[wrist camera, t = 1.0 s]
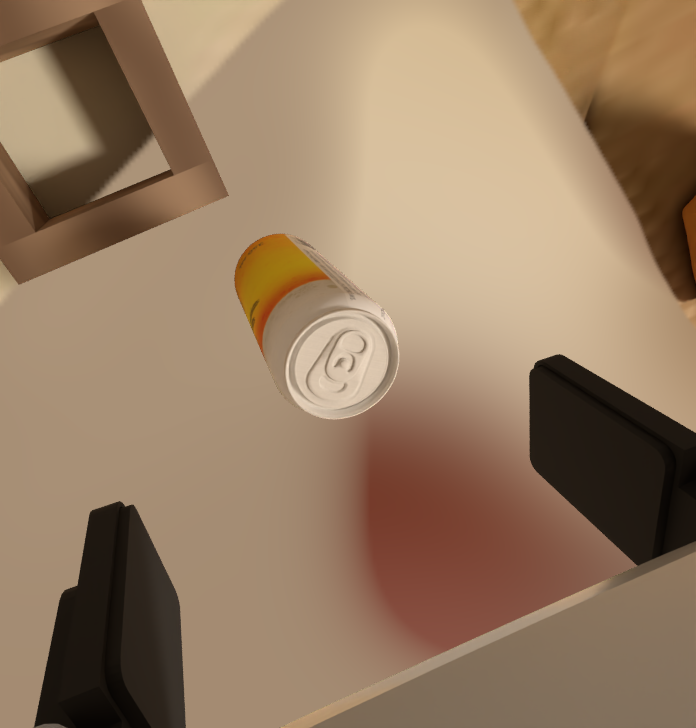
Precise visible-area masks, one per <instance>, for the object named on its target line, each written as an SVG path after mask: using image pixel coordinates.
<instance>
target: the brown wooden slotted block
mask: <svg viewBox="0 0 696 728" xmlns="http://www.w3.org/2000/svg"><path fill="white" fill-rule="evenodd" d="M99 25H100V26H101V28H102V30H103V32H104V34H105V36H106V38H107V40H108V42H109V44H110V46H111V48H112V50H113V52H114V54H115V56H116V59H117V61H118V63H119V65H120V67H121V69H122V71H123V73H124V75H125V77H126V79H127V81H128V83H129V85H130V87H131V89H132V91H133V93H134V95H135V97H136V99H137V101H138V103H139V105H140V107H141V109H142V111H143V113H144V115H145V117H146V119H147V121H148V123H149V125H150V127H151V129H152V131H153V134H154V136H155V138H156V140H157V141H158V144H159V145H160V148H161V150H162V152H163V154H164V155H165V158H166V160H167V162H168V164H169V165H170V168H171V169H170V170H168V171H165V172H163V173H161V174H158V175H156V176H153V177H151V178H149V179H146V180H144V181H141V182H139V183H136V184H134V185H132V186H129V187H127V188H124V189H122V190H120V191H117V192H115V193H112V194H110V195H107V196H105V197H102V198H100V199H98V200H95V201H93V202H90V203H88V204H85V205H83V206H81V207H78V208H76V209H73V210H71V211H68V212H66V213H64V214H61V215H59V216H56V217H54V218H51V219H49V217H48V216H47V214H46V213H45V211H44V210H43V208H42V206H41V205H40V203H39V202H38V200H37V199H36V197H35V196H34V194H33V192H32V191H31V189H30V188H29V186H28V185H27V183H26V181H25V180H24V178H23V177H22V175H21V174H20V172H19V171H18V169H17V167H16V166H15V164H14V163H13V161H12V160H11V158H10V157H9V155H8V153H7V152H6V150H5V149H4V147H3V146H2V144H1V142H0V259H1V261H2V262H3V264H4V265H5V266H6V268H7V269H8V270H9V272H10V273H11V275H12V276H13V277H14V279H15V280H16V282H17V283H18V284H22V283H24V282H26V281H29V280H31V279H33V278H36V277H38V276H41V275H43V274H45V273H47V272H50V271H52V270H55V269H57V268H59V267H61V266H64V265H66V264H69V263H71V262H73V261H76V260H78V259H80V258H83V257H85V256H87V255H90V254H92V253H95V252H97V251H99V250H102V249H104V248H107V247H109V246H111V245H114V244H116V243H118V242H121V241H123V240H125V239H128V238H130V237H132V236H135V235H137V234H140V233H142V232H144V231H147V230H149V229H151V228H154V227H156V226H158V225H161V224H163V223H165V222H168V221H170V220H172V219H175V218H177V217H180V216H182V215H184V214H187V213H189V212H191V211H194V210H196V209H199V208H201V207H203V206H205V205H208V204H210V203H212V202H215V201H217V200H220V199H222V198H224V197H226V196H229V195H228V193H227V191H226V188H225V186H224V184H223V181H222V180H221V177H220V175H219V173H218V170H217V168H216V166H215V164H214V162H213V159H212V157H211V155H210V153H209V150H208V148H207V146H206V144H205V141H204V139H203V137H202V135H201V132H200V130H199V128H198V126H197V124H196V121H195V120H194V117H193V115H192V113H191V110H190V108H189V106H188V104H187V101H186V99H185V97H184V95H183V92H182V90H181V88H180V86H179V84H178V81H177V79H176V77H175V75H174V72H173V70H172V68H171V66H170V63H169V61H168V59H167V57H166V55H165V52H164V50H163V48H162V46H161V43H160V41H159V39H158V37H157V35H156V32H155V30H154V28H153V26H152V23H151V21H150V19H149V17H148V14H147V12H146V10H145V8H144V6H143V3H142V1H141V0H0V62H2V61H5V60H7V59H10V58H13V57H15V56H18V55H21V54H24V53H26V52H29V51H32V50H34V49H37V48H40V47H42V46H45V45H48V44H50V43H53V42H56V41H59V40H61V39H64V38H67V37H69V36H72V35H75V34H77V33H80V32H83V31H85V30H88V29H91V28H94V27H96V26H99Z"/></svg>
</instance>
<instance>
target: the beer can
mask: <svg viewBox="0 0 696 728" xmlns="http://www.w3.org/2000/svg"><path fill="white" fill-rule="evenodd" d="M235 288H236V292H237V295H238V298H239V300H240V302H241V304H242V307H243V309H244V311H245V314H246V316H247V319H248V321H249V323H250V326H251V328H252V330H253V333H254V335H255V337H256V340H257V342H258V344H259V347H260V349H261V352H262V354H263V356H264V358H265V361H266V363H267V366H268V368H269V370H270V373H271V375H272V377H273V380H274V382H275V384H276V386H277V388H278V390H279V391H280V392H281V394H282V395H283V396H284V398H285V399H286V400H287V401H289V402H290V403H291V404H292V405H294V406H296V407H297V408H299V409H301V410H303V411H306V412H308V413H310V414H312V415H314V416H317V417H320V418H325V419H343V418H348V417H352V416H355V415H357V414H360V413H362V412H364V411H366V410H368V409H369V408H371V407H372V406H374V405H375V404H376V403H377V402H378V401H379V400H380V399H381V398H382V397H383V396H384V395H385V394H386V393H387V391H388V390H389V388H390V387H391V385H392V383H393V381H394V379H395V377H396V374H397V370H398V365H399V349H398V339H397V334H396V330H395V327H394V325H393V323H392V321H391V319H390V317H389V316H388V314H387V313H386V312H385V311H384V310H383V309H382V308H381V307H380V306H379V305H378V304H377V303H376V302H375V301H373V300H372V299H371V298H370V297H369V296H368V295H367V294H365V293H364V292H363V291H362V290H361V289H360V288H359V287H357V286H356V285H355V284H354V283H353V282H352V281H351V280H349V279H348V278H347V277H346V276H345V275H344V274H343V273H342V272H340V271H339V270H338V269H337V268H336V267H334V266H333V265H332V264H331V263H330V262H329V261H328V260H327V259H325V258H324V257H323V256H322V255H321V254H320V253H319V252H318V251H316V250H315V249H314V248H313V247H312V246H311V245H310V244H308V243H307V242H306V241H304V240H302V239H301V238H298V237H296V236H293V235H288V234H273V235H269V236H266V237H263V238H261V239H259V240H257V241H255V242H254V243H253V244H251V245H250V246H249V247H248V248H247V249H246V250H245V252H244V253H243V254H242V256H241V257H240V259H239V261H238V264H237V267H236V270H235Z"/></svg>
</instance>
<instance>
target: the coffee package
mask: <svg viewBox="0 0 696 728" xmlns="http://www.w3.org/2000/svg"><path fill="white" fill-rule="evenodd" d="M682 216H683V220H684V225H685V229H686V233H687V241H688V245H689V251H690V257H691V263H692V270H693V274H694V278H695V282H696V195H695V197H694V198H693V199H692V200H691V201H690V202H689V203H688V204H687V205H686V206H685V207H684V209H683V212H682Z"/></svg>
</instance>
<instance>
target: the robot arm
mask: <svg viewBox="0 0 696 728" xmlns="http://www.w3.org/2000/svg"><path fill="white" fill-rule="evenodd" d="M529 383H530V384H529V387H530V388H529V389H530V460H531V463H532V465H533V467H534V469H535V470H536V471H537V472H538V473H539V474H540V475H541V476H542V477H543V478H544V479H545V480H546V481H547V482H548V483H549V484H550V485H552V486H553V487H554V488H555V489H556V490H557V491H558V492H559V493H560V494H561V495H562V496H563V497H564V498H565V499H567V500H568V501H569V502H570V503H571V504H572V505H573V506H574V507H575V508H576V509H577V510H578V511H579V512H580V513H582V514H583V515H584V516H585V517H586V518H587V519H588V520H589V521H590V522H591V523H592V524H593V525H595V526H596V527H597V528H598V529H599V530H600V531H601V532H602V533H603V534H604V535H605V536H606V537H607V538H608V539H609V540H610V541H612V542H613V543H614V544H615V545H616V546H617V547H618V548H619V549H620V550H621V551H622V552H623V553H624V554H626V555H627V556H628V557H629V558H630V559H631V560H632V561H633V562H634V563H635V564H636V565H638V566H637V567H634V568H632V569H630V570H628V571H626V572H623V573H621V574H618V575H616V576H614V577H612V578H610V579H607V580H605V581H603V582H600V583H598V584H596V585H594V586H591V587H589V588H587V589H585V590H583V591H580V592H578V593H576V594H573V595H571V596H569V597H566V598H564V599H562V600H560V601H557V602H555V603H553V604H551V605H548V606H546V607H544V608H542V609H540V610H537V611H535V612H533V613H531V614H528V615H526V616H524V617H522V618H520V619H517V620H515V621H513V622H510V623H508V624H506V625H504V626H502V627H499V628H497V629H495V630H493V631H490V632H488V633H486V634H484V635H482V636H479V637H477V638H475V639H473V640H470V641H468V642H466V643H464V644H462V645H459V646H457V647H455V648H453V649H451V650H448V651H446V652H444V653H442V654H439V655H437V656H435V657H433V658H431V659H428V660H426V661H424V662H422V663H419V664H417V665H415V666H413V667H411V668H408V669H406V670H404V671H402V672H400V673H398V674H395V675H393V676H391V677H389V678H387V679H384V680H382V681H380V682H378V683H376V684H373V685H371V686H369V687H367V688H365V689H362V690H360V691H358V692H356V693H354V694H351V695H349V696H347V697H345V698H343V699H340V700H338V701H336V702H334V703H332V704H329V705H327V706H325V707H323V708H321V709H318V710H316V711H314V712H312V713H310V714H308V715H306V716H304V717H302V718H300V719H297V720H295V721H293V722H291V723H289V724H287V725H285V726H283V727H280V728H696V433H695V432H693V431H691V430H690V429H688V428H686V427H685V426H683V425H681V424H679V423H678V422H676V421H674V420H672V419H671V418H669V417H667V416H666V415H664V414H662V413H661V412H659V411H657V410H655V409H654V408H652V407H650V406H649V405H647V404H645V403H644V402H642V401H640V400H638V399H637V398H635V397H633V396H631V395H630V394H628V393H626V392H625V391H623V390H621V389H620V388H618V387H616V386H615V385H613V384H611V383H609V382H607V381H606V380H604V379H603V378H601V377H599V376H597V375H596V374H594V373H592V372H591V371H589V370H587V369H585V368H584V367H582V366H580V365H579V364H577V363H575V362H573V361H572V360H570V359H568V358H567V357H565V356H563V355H560V354H559V355H554V356H552V357H549V358H546V359H542V360H539V361H537V362H536V363H535V365H534V369H532V370H531V372H530V376H529ZM183 683H184V682H183V661H182V641H181V619H180V605H179V600H178V596H177V593H176V591H175V588H174V586H173V584H172V582H171V580H170V578H169V576H168V574H167V572H166V570H165V568H164V566H163V564H162V561H161V559H160V557H159V555H158V553H157V551H156V549H155V547H154V545H153V543H152V541H151V539H150V537H149V534H148V533H147V530H146V528H145V526H144V524H143V522H142V520H141V518H140V516H139V514H138V512H137V510H136V508H135V506H134V505H129V506H126V507H125V506H124V504H123V503H122V502H120V501H119V502H116V503H113V504H110V505H107V506H104V507H101V508H98V509H95V510H92V511H91V512H90V515H89V521H88V527H87V533H86V538H85V544H84V550H83V556H82V562H81V568H80V574H79V580H78V586H75V587H72V588H70V589H67V590H65V591H64V592H63V593H62V595H61V598H60V601H59V606H58V611H57V616H56V621H55V626H54V631H53V636H52V641H51V646H50V651H49V656H48V661H47V666H46V671H45V676H44V681H43V685H42V690H41V696H40V701H39V705H38V711H37V716H36V721H35V726H34V728H186V725H185V703H184V684H183Z"/></svg>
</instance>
